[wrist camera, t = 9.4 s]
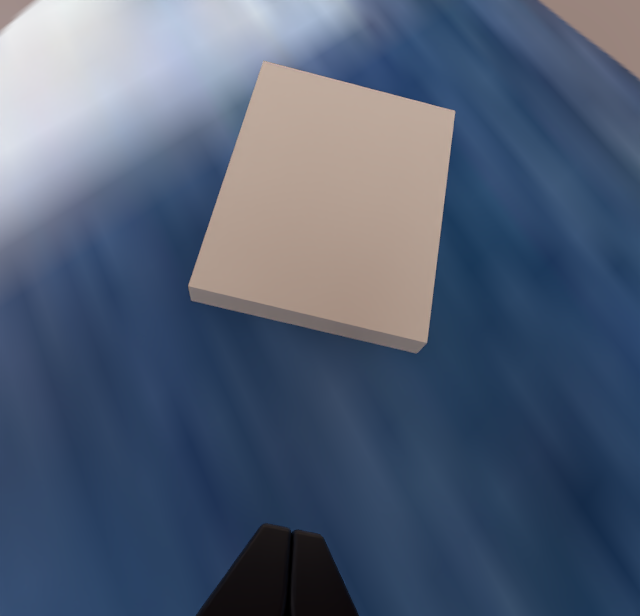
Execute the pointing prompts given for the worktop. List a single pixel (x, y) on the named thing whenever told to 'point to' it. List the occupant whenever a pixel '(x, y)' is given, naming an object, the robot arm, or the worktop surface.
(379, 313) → the tile
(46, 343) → the worktop surface
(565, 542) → the worktop surface
